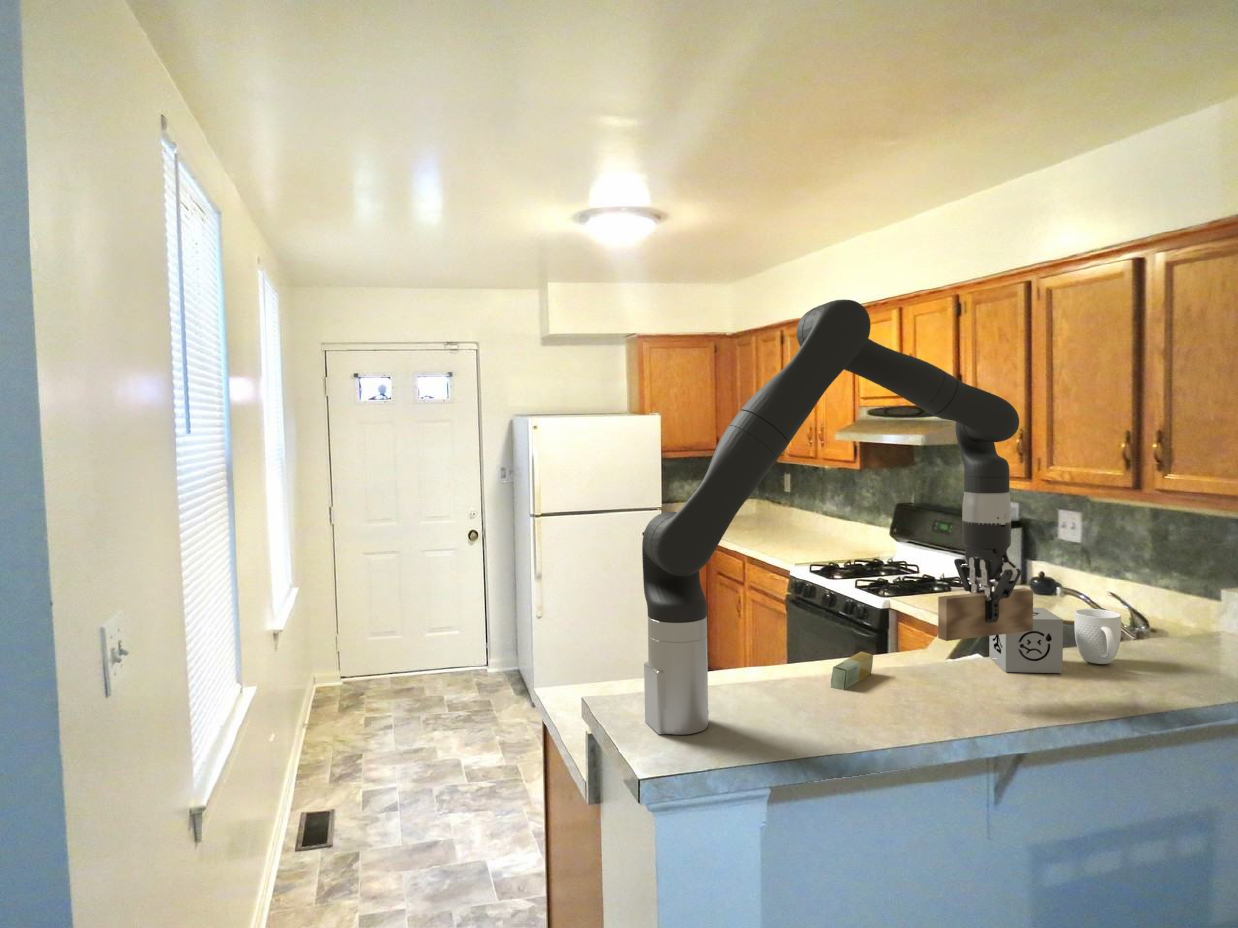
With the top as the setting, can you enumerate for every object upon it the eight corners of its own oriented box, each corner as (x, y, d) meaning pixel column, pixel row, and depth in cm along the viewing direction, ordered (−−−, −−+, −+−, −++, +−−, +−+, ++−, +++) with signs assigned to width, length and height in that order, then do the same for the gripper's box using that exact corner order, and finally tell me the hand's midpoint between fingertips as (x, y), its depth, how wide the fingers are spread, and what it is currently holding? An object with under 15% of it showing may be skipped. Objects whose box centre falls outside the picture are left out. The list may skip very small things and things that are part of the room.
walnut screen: (946, 640, 140) (946, 599, 139) (938, 638, 142) (938, 596, 141) (1032, 630, 145) (1033, 590, 145) (1023, 627, 147) (1024, 588, 147)
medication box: (844, 692, 148) (845, 670, 148) (829, 688, 150) (831, 666, 150) (872, 674, 158) (873, 653, 157) (858, 670, 159) (860, 649, 159)
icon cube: (1042, 657, 166) (1043, 607, 166) (1062, 672, 156) (1062, 619, 156) (989, 656, 168) (989, 607, 167) (1005, 671, 158) (1005, 618, 157)
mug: (1134, 671, 156) (1135, 621, 156) (1088, 670, 158) (1089, 620, 157) (1110, 655, 167) (1110, 608, 166) (1067, 654, 168) (1068, 608, 168)
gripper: (940, 515, 148) (940, 614, 149) (998, 524, 135) (998, 632, 136) (975, 513, 150) (975, 610, 151) (1036, 521, 137) (1035, 627, 138)
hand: (986, 620), depth 143 cm, fingers closed on walnut screen, 2 cm apart
